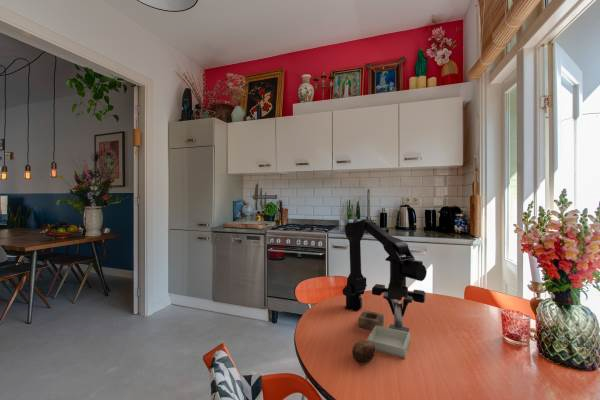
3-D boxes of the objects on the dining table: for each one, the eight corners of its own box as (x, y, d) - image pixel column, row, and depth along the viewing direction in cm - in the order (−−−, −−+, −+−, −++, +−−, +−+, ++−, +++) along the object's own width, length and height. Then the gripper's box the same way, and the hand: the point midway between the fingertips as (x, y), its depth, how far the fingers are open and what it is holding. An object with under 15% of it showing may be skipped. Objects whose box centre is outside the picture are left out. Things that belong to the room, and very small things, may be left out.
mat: (386, 332, 102) (386, 331, 102) (390, 324, 108) (390, 323, 108) (406, 337, 98) (406, 335, 98) (409, 328, 104) (409, 327, 104)
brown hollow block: (358, 327, 105) (358, 317, 105) (364, 319, 112) (364, 310, 112) (379, 332, 102) (379, 322, 102) (383, 324, 108) (383, 314, 108)
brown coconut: (382, 346, 86) (371, 331, 85) (381, 369, 79) (369, 354, 78) (360, 351, 90) (350, 338, 89) (358, 374, 83) (346, 359, 82)
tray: (366, 348, 91) (366, 339, 91) (375, 333, 101) (375, 325, 101) (404, 358, 85) (404, 349, 85) (410, 341, 95) (409, 332, 95)
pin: (393, 326, 102) (393, 303, 102) (395, 323, 105) (394, 300, 105) (401, 328, 101) (401, 304, 101) (403, 325, 103) (402, 301, 103)
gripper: (367, 276, 100) (368, 318, 100) (422, 283, 91) (422, 329, 91) (375, 269, 110) (375, 307, 110) (425, 275, 101) (425, 317, 101)
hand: (398, 315), depth 103 cm, fingers closed on pin, 3 cm apart
